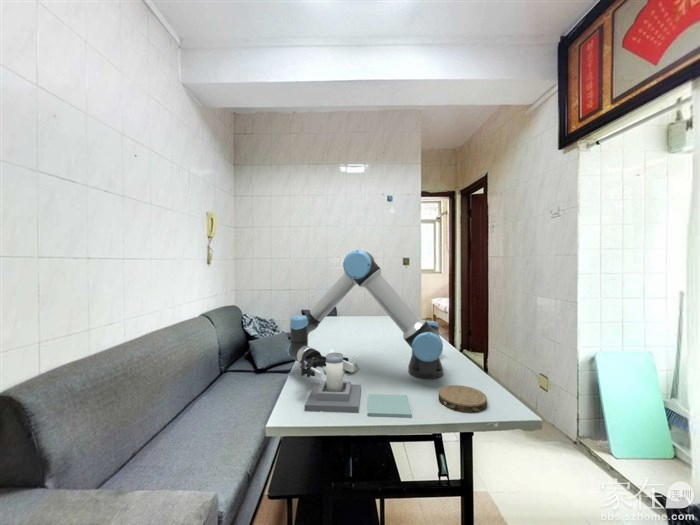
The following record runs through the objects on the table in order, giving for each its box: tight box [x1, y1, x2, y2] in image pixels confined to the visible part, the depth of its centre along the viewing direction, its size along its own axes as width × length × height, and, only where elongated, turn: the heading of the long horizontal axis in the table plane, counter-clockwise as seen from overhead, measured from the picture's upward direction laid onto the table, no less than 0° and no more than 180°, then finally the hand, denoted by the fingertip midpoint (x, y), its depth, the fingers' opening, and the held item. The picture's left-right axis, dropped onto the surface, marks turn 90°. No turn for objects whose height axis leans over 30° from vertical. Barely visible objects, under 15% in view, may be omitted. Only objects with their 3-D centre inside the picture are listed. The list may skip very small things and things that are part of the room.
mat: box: [367, 393, 413, 418], centre depth 102 cm, size 14×14×1 cm
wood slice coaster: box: [438, 384, 488, 414], centre depth 105 cm, size 16×16×3 cm
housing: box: [304, 380, 362, 414], centre depth 107 cm, size 18×18×4 cm
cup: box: [325, 352, 344, 392], centre depth 107 cm, size 6×6×14 cm
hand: (337, 372), depth 106 cm, fingers open, 13 cm apart
